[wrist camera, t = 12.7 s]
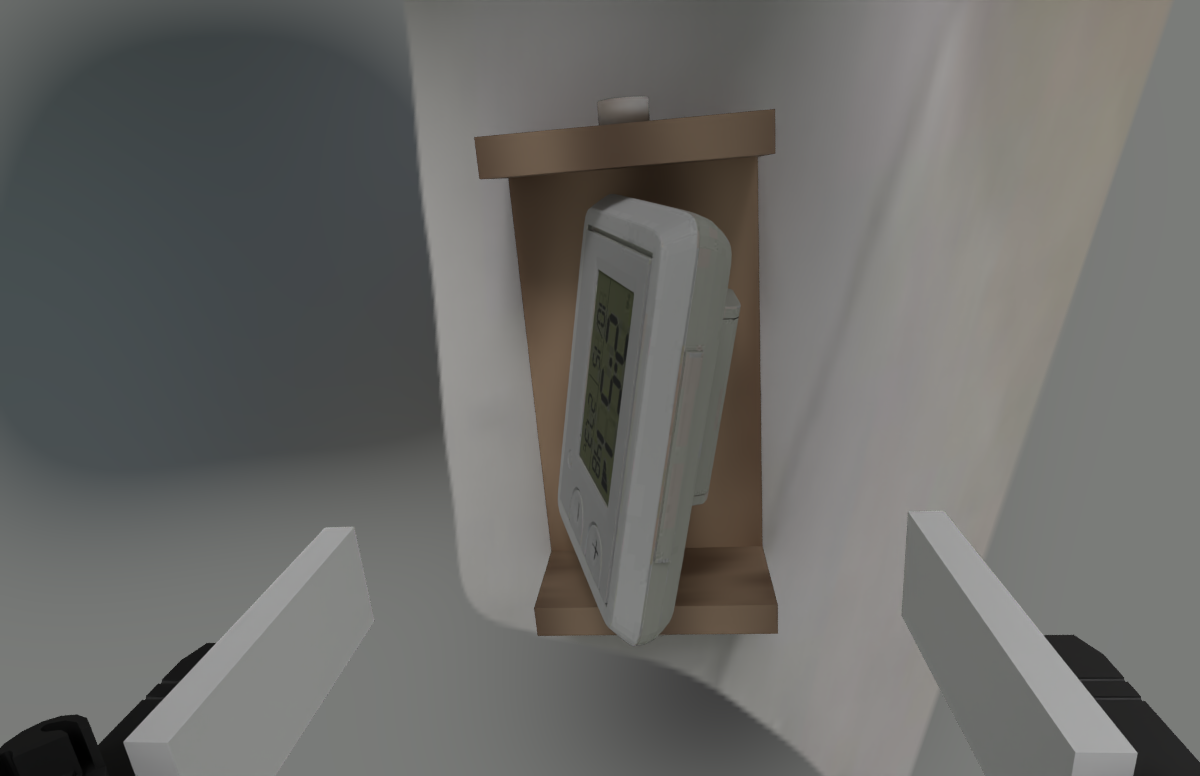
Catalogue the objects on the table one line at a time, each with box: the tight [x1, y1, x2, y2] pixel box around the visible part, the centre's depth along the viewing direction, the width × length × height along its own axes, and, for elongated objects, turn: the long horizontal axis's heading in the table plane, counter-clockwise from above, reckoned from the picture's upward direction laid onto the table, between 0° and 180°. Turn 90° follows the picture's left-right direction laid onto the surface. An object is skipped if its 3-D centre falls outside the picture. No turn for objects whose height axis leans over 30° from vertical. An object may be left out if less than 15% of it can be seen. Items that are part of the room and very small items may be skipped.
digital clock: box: [558, 194, 741, 646], centre depth 28 cm, size 16×9×11 cm, turn 162°
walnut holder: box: [474, 96, 778, 636], centre depth 31 cm, size 11×24×6 cm, turn 5°
